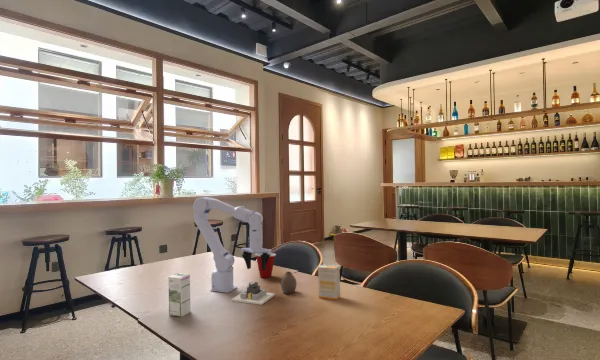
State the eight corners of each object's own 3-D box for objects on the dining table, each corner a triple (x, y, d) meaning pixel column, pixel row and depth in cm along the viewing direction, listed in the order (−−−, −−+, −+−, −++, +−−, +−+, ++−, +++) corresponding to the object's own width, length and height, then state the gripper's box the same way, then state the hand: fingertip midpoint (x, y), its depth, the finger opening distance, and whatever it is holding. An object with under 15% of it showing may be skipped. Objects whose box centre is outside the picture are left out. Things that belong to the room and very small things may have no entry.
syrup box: (191, 311, 128) (190, 273, 128) (181, 317, 122) (180, 277, 122) (178, 310, 130) (178, 272, 130) (168, 315, 124) (167, 276, 124)
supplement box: (340, 296, 142) (340, 265, 142) (337, 300, 137) (336, 268, 137) (322, 294, 145) (321, 263, 145) (318, 297, 141) (317, 266, 141)
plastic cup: (280, 275, 176) (280, 252, 176) (267, 280, 167) (267, 256, 167) (264, 272, 182) (264, 250, 182) (251, 277, 173) (250, 254, 173)
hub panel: (231, 300, 139) (231, 294, 139) (246, 292, 150) (246, 285, 150) (261, 304, 134) (261, 297, 134) (274, 295, 145) (274, 288, 145)
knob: (251, 294, 144) (251, 281, 144) (260, 295, 143) (259, 281, 143) (245, 298, 139) (244, 284, 139) (253, 299, 138) (253, 285, 138)
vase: (294, 294, 145) (294, 274, 145) (279, 294, 146) (278, 274, 146) (298, 289, 152) (297, 270, 152) (283, 289, 153) (282, 269, 153)
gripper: (237, 239, 152) (237, 270, 152) (266, 241, 146) (266, 272, 146) (245, 237, 158) (245, 266, 158) (273, 238, 153) (273, 268, 153)
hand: (256, 269), depth 153 cm, fingers open, 7 cm apart
